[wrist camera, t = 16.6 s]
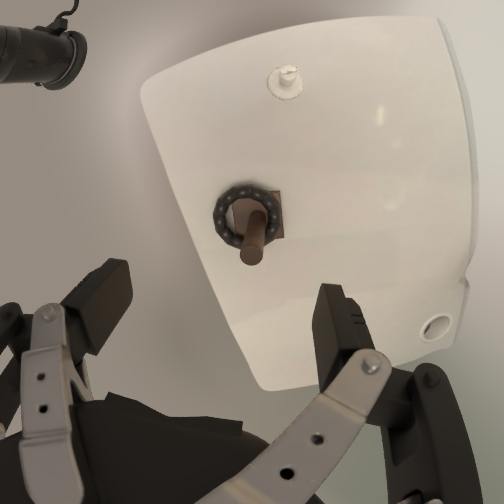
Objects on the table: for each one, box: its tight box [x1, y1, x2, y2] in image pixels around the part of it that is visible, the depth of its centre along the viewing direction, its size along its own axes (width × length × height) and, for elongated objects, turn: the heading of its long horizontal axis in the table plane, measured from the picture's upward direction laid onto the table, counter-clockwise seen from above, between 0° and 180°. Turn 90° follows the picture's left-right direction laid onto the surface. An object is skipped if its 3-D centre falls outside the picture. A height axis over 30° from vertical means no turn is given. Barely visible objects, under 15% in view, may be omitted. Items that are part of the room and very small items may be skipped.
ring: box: [213, 185, 282, 250], centre depth 39 cm, size 10×10×2 cm
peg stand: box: [232, 191, 284, 265], centre depth 35 cm, size 7×7×13 cm
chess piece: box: [267, 65, 304, 100], centre depth 28 cm, size 5×5×10 cm
